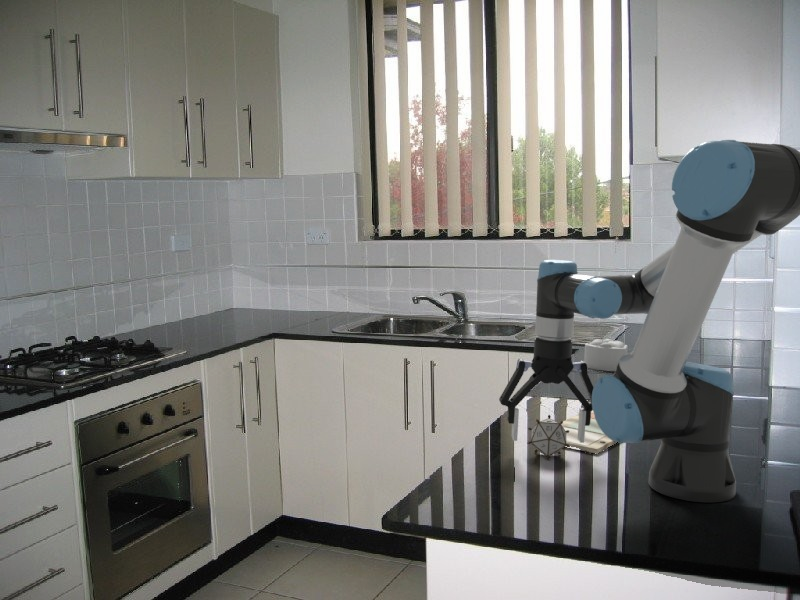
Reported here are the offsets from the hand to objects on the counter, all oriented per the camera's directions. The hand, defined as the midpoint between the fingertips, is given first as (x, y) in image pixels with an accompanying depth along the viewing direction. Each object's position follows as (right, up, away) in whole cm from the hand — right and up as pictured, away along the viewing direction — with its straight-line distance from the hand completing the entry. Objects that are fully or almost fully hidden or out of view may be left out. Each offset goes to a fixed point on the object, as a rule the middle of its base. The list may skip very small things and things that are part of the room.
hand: (547, 439), depth 172 cm
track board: (+14, -1, +19) cm, 24 cm away
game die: (0, -4, 0) cm, 4 cm away
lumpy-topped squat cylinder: (+35, +7, +95) cm, 101 cm away
